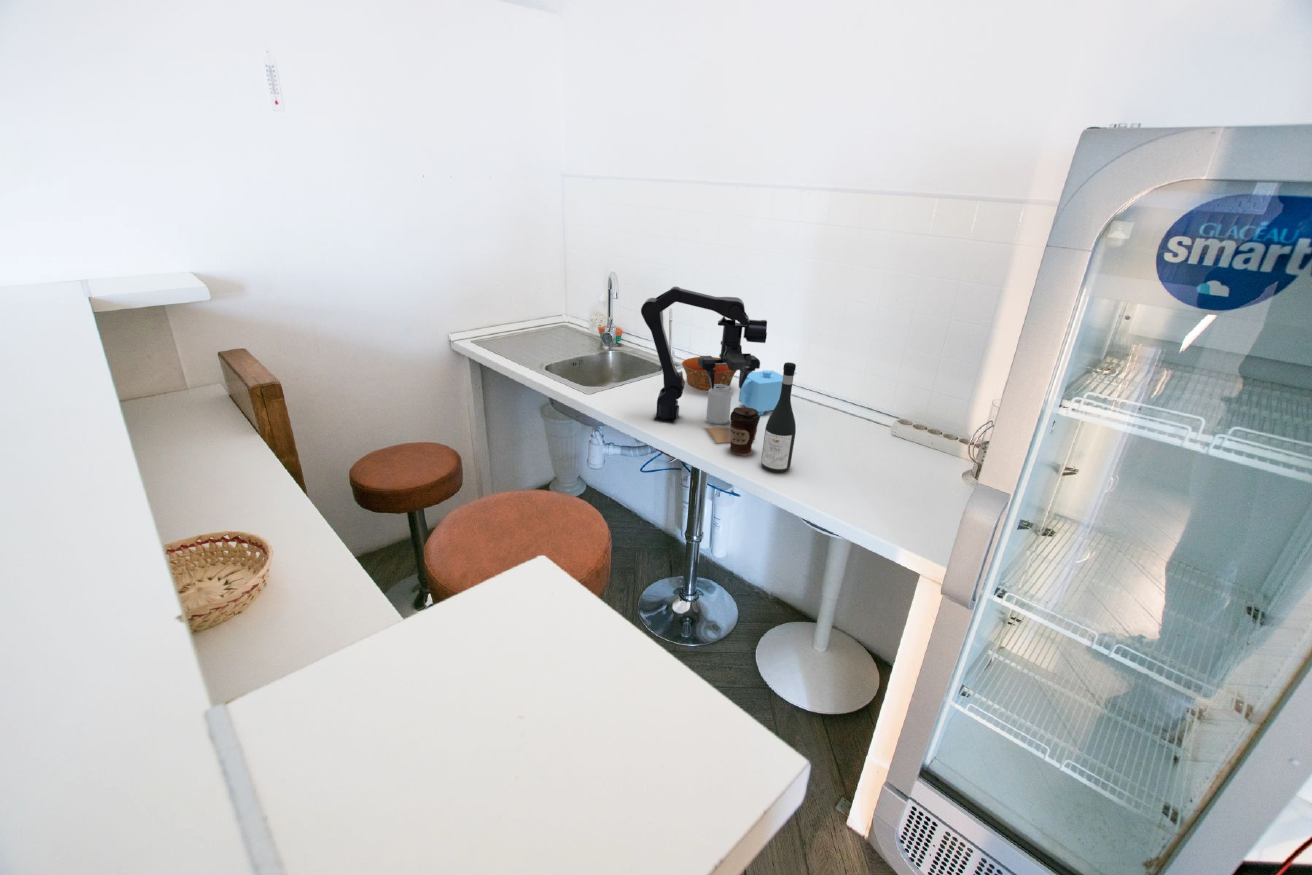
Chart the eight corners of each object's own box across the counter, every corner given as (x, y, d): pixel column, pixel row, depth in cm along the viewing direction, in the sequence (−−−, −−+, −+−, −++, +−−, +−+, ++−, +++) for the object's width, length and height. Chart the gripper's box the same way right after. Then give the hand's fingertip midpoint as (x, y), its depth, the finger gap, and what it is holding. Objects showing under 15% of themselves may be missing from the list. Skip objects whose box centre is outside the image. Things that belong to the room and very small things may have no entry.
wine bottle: (785, 476, 156) (801, 370, 143) (757, 469, 159) (770, 365, 147) (792, 465, 162) (808, 362, 150) (765, 458, 165) (779, 357, 153)
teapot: (748, 417, 193) (753, 378, 188) (731, 406, 203) (735, 368, 197) (801, 410, 202) (807, 372, 197) (782, 399, 211) (787, 363, 206)
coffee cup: (745, 460, 163) (750, 418, 158) (720, 452, 168) (724, 410, 163) (760, 451, 170) (765, 410, 165) (735, 443, 174) (740, 402, 169)
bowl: (672, 381, 225) (674, 356, 221) (723, 378, 231) (725, 354, 227) (691, 400, 207) (693, 373, 203) (745, 396, 213) (748, 370, 209)
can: (727, 417, 193) (730, 383, 188) (730, 425, 186) (734, 390, 182) (704, 416, 193) (707, 382, 188) (707, 425, 186) (710, 390, 181)
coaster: (716, 443, 173) (716, 442, 173) (706, 429, 183) (706, 428, 183) (750, 441, 176) (750, 441, 176) (739, 427, 185) (739, 427, 185)
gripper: (710, 347, 168) (705, 397, 174) (769, 347, 172) (763, 396, 178) (699, 337, 178) (695, 385, 184) (756, 337, 182) (750, 384, 188)
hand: (726, 388), depth 183 cm, fingers open, 9 cm apart
